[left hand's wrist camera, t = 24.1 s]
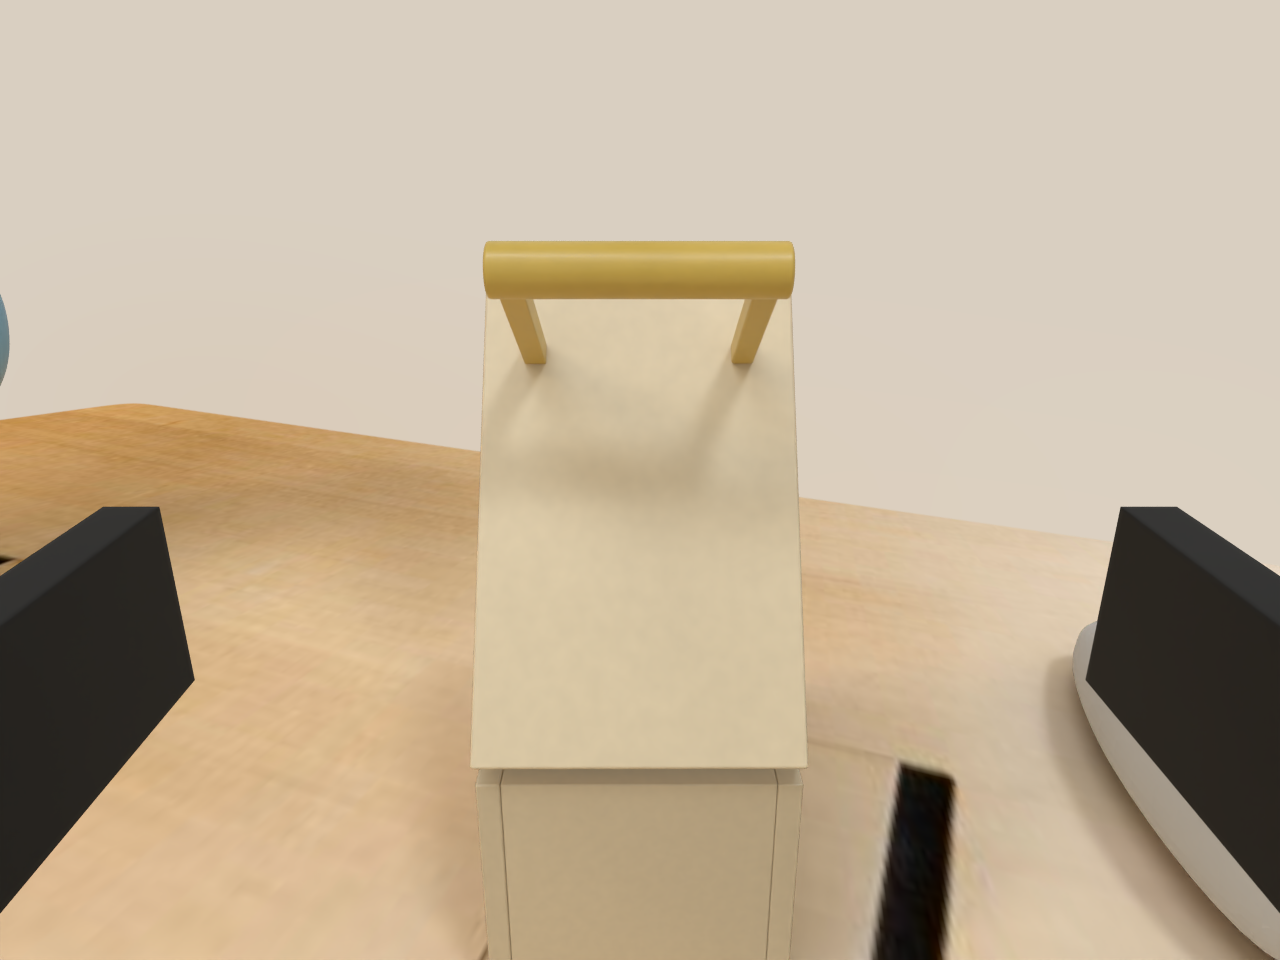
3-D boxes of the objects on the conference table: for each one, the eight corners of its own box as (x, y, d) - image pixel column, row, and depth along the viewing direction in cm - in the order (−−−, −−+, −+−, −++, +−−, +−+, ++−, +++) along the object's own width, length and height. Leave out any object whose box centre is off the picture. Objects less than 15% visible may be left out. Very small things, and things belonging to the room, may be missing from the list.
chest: (538, 733, 44) (530, 563, 41) (738, 733, 44) (746, 563, 41) (492, 1011, 30) (474, 785, 27) (785, 1010, 30) (803, 784, 27)
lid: (492, 276, 30) (439, 138, 22) (784, 276, 30) (838, 139, 22) (476, 764, 27) (408, 811, 19) (801, 764, 27) (870, 810, 19)
